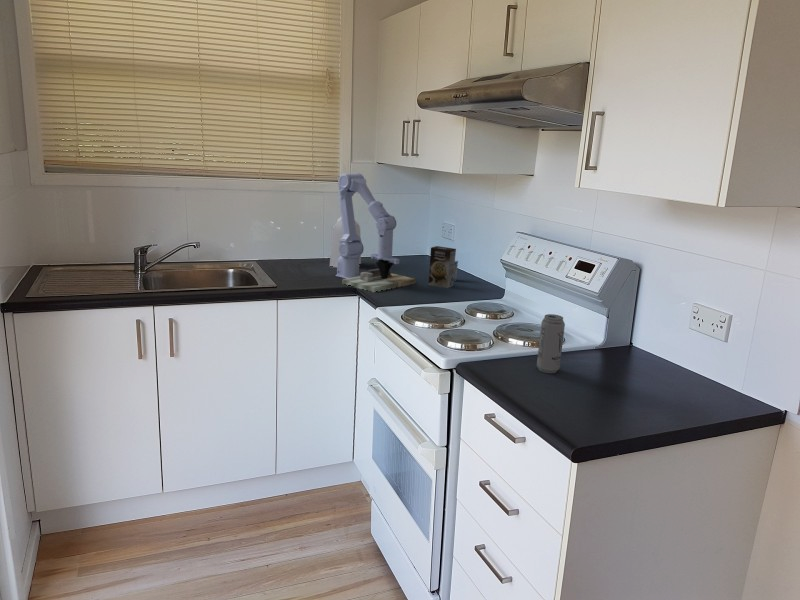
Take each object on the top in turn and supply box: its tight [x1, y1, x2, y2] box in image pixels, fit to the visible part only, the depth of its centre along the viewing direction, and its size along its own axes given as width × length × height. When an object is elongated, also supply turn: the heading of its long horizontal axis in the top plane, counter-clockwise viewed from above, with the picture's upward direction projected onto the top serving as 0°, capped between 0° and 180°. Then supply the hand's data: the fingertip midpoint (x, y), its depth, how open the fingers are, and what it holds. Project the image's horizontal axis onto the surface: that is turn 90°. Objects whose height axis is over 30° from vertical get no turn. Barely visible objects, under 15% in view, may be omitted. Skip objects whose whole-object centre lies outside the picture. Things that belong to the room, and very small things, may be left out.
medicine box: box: [453, 260, 459, 283], centre depth 265 cm, size 8×4×9 cm, turn 76°
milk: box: [329, 216, 362, 268], centre depth 283 cm, size 12×12×26 cm
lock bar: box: [367, 267, 392, 277], centre depth 255 cm, size 12×3×3 cm, turn 135°
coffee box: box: [428, 245, 457, 289], centre depth 253 cm, size 9×6×16 cm
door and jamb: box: [341, 271, 417, 293], centre depth 252 cm, size 18×26×5 cm
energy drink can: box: [536, 313, 566, 374], centre depth 162 cm, size 6×6×15 cm
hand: (384, 278), depth 249 cm, fingers closed
